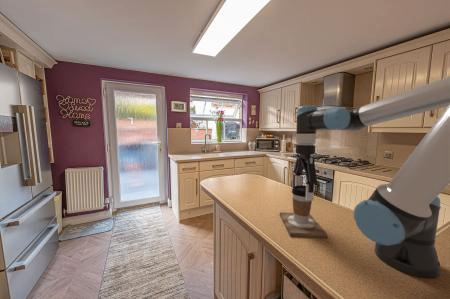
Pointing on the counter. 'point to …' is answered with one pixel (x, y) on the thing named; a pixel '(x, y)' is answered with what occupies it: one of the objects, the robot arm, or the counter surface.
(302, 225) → the board
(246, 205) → the counter surface
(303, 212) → the coffee cup
